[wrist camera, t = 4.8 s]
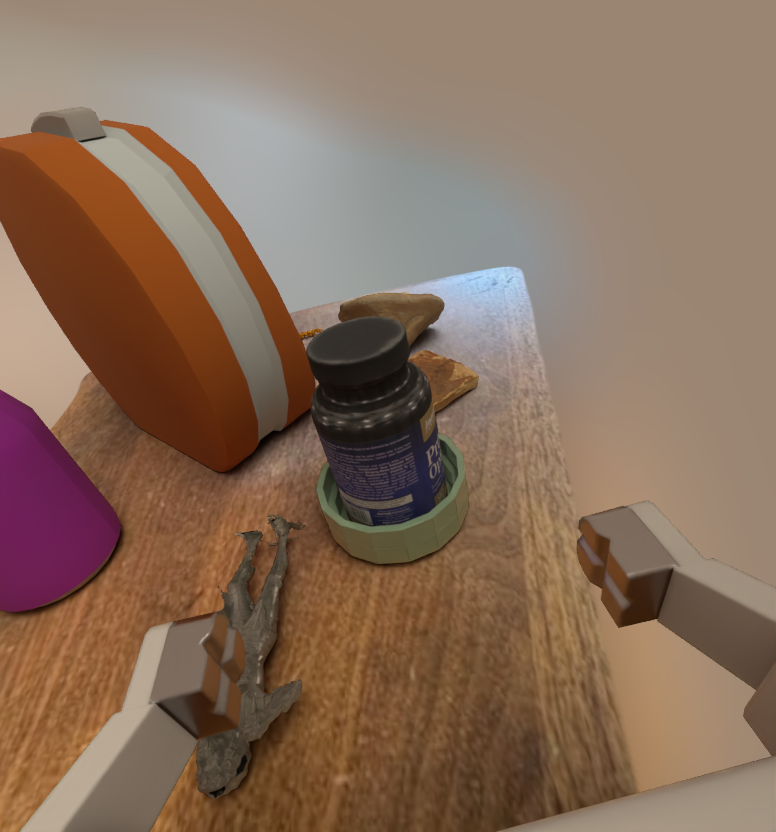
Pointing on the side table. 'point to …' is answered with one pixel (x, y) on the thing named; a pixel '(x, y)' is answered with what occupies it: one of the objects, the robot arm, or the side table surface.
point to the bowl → (406, 537)
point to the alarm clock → (153, 284)
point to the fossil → (396, 310)
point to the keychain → (310, 333)
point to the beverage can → (46, 515)
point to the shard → (444, 377)
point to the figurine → (249, 668)
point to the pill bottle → (376, 422)
